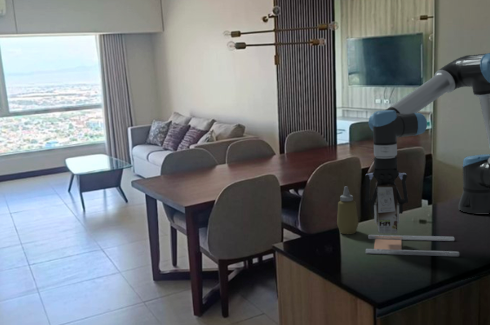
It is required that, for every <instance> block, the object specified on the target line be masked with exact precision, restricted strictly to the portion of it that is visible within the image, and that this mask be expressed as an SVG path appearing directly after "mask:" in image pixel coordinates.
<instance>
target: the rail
mask: <svg viewBox="0 0 490 325" xmlns="http://www.w3.org/2000/svg"><path fill="white" fill-rule="evenodd" d="M367 237H368V240H375V239H384V240H401V241H402V240H403V241H405V240H406V241H433V242H434V241H436V242H437V241H438V242H440V241H441V242H442V241H445V242H454V241H455V237H454V236H448V235H447V236H446V235H445V236H442V235H441V236H437V235H435V236H434V235H404V234H403V235H397V234H395V235H392V234H368V236H367ZM365 254H375V255H402V256H404V255H406V256H409V255H410V256H436V257H437V256H438V257H460V252H459V251H453V250H448V251H447V250H446V251H445V250H420V249H419V250H417V249H414V250H413V249H401V250H391V249H374V248H365Z"/></svg>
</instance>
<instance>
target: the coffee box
mask: <svg viewBox="0 0 490 325" xmlns="http://www.w3.org/2000/svg"><path fill="white" fill-rule="evenodd" d="M377 182H378V181H375V186H376V185H377ZM397 189H398V186H397V184H395V185H391V184H381V185H377V197H376V199H375V201H376V203H377V223H376V225H377V230H378V233H379V234H397V233H398V224H397V203H398V200H397Z"/></svg>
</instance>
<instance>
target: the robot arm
mask: <svg viewBox="0 0 490 325" xmlns="http://www.w3.org/2000/svg"><path fill="white" fill-rule="evenodd" d="M465 87H470V88H472V93H473V95H474V96H476V97H477V98H478V99H479V104H480V109H481V114H482V118H483V122H484V123H483V124H484V128H485V132H486V137H487V143H488V147H489V149H490V52H487V53H479V54H469V55H463V56H460V57H458V58H456V59H454V60H452V61H450V62H449V63H447V64H446V65H444V66H443V67H441V68H439V69H438V70H437V71H436V72H435V73H434V76H433V77H431V78H429V79H428V80H427V81H426V82H424V83H423V84H421V85H420V86H418V87H417V88H415V89H413V91H410V92H409V93H408V94H407V95H405V96H404V97H402V98H401V99H399V100H398V101H396V102H395V103H394V104H391V105H390V106H389V107H388V108H386V109H385V110H384V109H383V110H376V111H374V112H373V113H372V114H371V115H370V116H369V118H368V126H369V129H370V130H371V131H372V133H373V134H372V136H373V139H372V140H373V156H374V158H373V165H374V166H373V167H374V170H373V172H370V173H366V174H365V181H366V186H365V198H364V199H365V201H364V202H365V203H367V204H370V213H371V214H374V217H373V219H374V224H377V202H375V201H376V197H377V185H381V184H391V185H395V184H396V180H397V178H398V177H399V179H400V180H401V184H402V185H401V186H402V187H401V188H402V193H403V199H402V197H401V194H400V191H399V189H398V188H397V225H398V224H399V225H400V214H401V215H402V214H403V213H404V210H403V209H404V204H407V203H409V196H408V189H407V188H408V187H407V182H406V181H407V177H408V174H407V173H406V172H399V170H398V157H397V155H398V138H402V137H411V136H417V135H418V136H419V135H421V134H424V133H425V132H426V130H427V127H428V120H427V118H426V116H425V115H424V114H422V113H421V112H420V111H421V110H423V109H424V108H426V107H427V106H429V105H430V104H432V103H433V102H434V101H436V100H437V99H439V98H441V96H443V95H444V94H446V93H452V92H453V91H454V90H457V89H459V88H465ZM373 178H374V179H375V180H376V182H377V185H376V184H375V188H374V192H373V194H372V197H371V198H370V193H371V181H372V179H373ZM396 185H397V184H396ZM459 210H461V211H463V212H468V213H490V154H489V153H488V154H487V153H486V154H476V155H468V156H466V157H464V158H463V163H462V194H461V196H460V199H459V202H458V211H459ZM461 211H460V212H461ZM463 212H462V213H463Z"/></svg>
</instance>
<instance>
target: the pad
mask: <svg viewBox="0 0 490 325" xmlns="http://www.w3.org/2000/svg"><path fill="white" fill-rule="evenodd" d="M373 249H391V250H402V240H392V239H374V246H373Z"/></svg>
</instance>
